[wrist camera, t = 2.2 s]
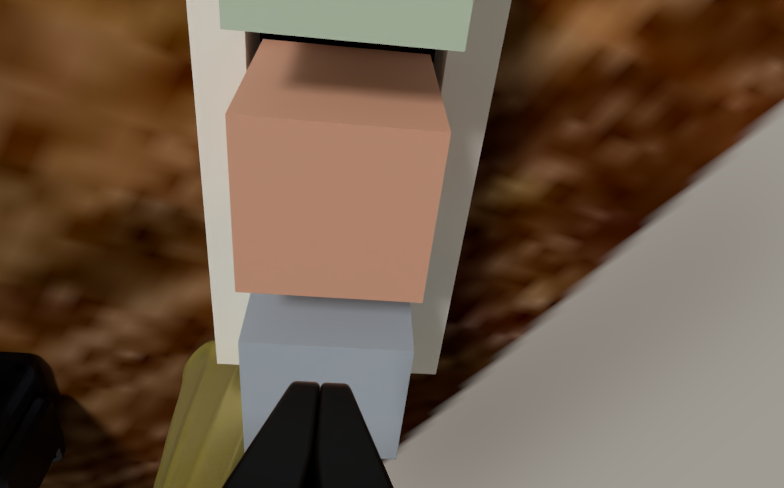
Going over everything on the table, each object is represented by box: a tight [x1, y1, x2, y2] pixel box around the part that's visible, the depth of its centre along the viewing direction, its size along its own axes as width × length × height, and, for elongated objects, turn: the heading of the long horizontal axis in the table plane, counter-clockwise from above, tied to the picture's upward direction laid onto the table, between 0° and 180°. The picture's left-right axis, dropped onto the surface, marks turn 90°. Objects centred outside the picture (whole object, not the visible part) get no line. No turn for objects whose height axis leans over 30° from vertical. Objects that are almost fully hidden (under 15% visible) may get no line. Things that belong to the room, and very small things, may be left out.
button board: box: [186, 0, 512, 374], centre depth 18 cm, size 8×19×2 cm, turn 174°
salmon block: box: [225, 39, 451, 303], centre depth 15 cm, size 4×4×5 cm
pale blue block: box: [238, 293, 414, 459], centre depth 18 cm, size 4×4×5 cm
